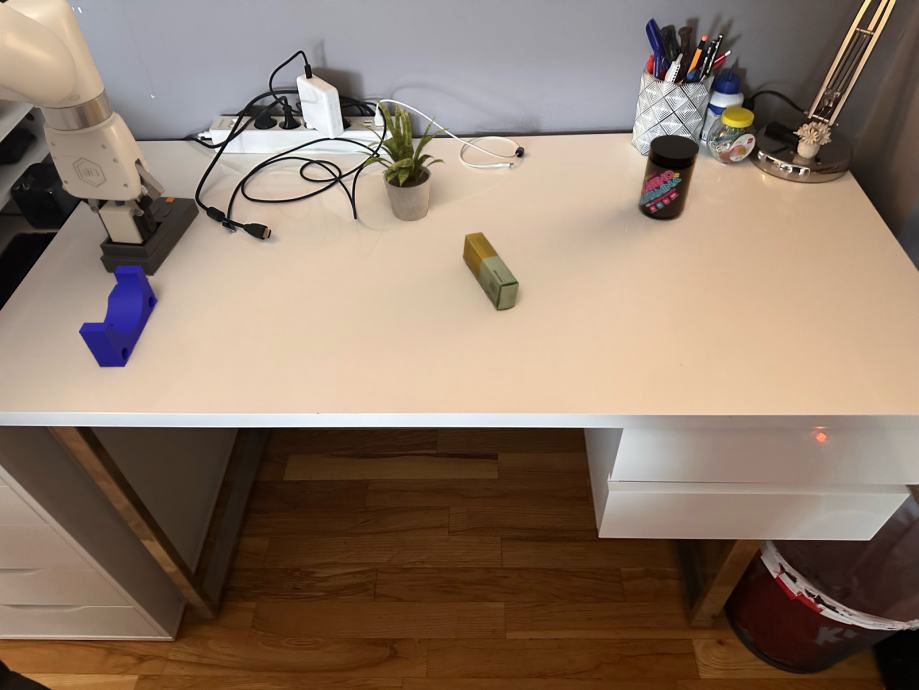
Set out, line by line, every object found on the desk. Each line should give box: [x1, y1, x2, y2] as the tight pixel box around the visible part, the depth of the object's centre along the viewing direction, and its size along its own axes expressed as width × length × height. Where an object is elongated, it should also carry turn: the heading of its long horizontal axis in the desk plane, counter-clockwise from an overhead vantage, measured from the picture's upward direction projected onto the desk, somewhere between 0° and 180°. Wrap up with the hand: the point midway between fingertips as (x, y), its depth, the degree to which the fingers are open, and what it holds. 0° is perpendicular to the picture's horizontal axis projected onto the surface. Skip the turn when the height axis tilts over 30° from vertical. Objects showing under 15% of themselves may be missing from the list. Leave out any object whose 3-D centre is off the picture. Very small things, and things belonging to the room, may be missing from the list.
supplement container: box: [638, 134, 700, 221], centre depth 98 cm, size 7×7×10 cm
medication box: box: [462, 231, 520, 311], centre depth 89 cm, size 12×3×4 cm, turn 23°
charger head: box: [99, 197, 143, 244], centre depth 92 cm, size 4×4×6 cm
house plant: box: [351, 98, 449, 222], centre depth 98 cm, size 14×14×16 cm
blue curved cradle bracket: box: [78, 266, 158, 368], centre depth 84 cm, size 12×4×6 cm, turn 179°
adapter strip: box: [99, 196, 200, 276], centre depth 98 cm, size 7×16×4 cm, turn 172°
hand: (133, 232), depth 94 cm, fingers closed on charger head, 4 cm apart
